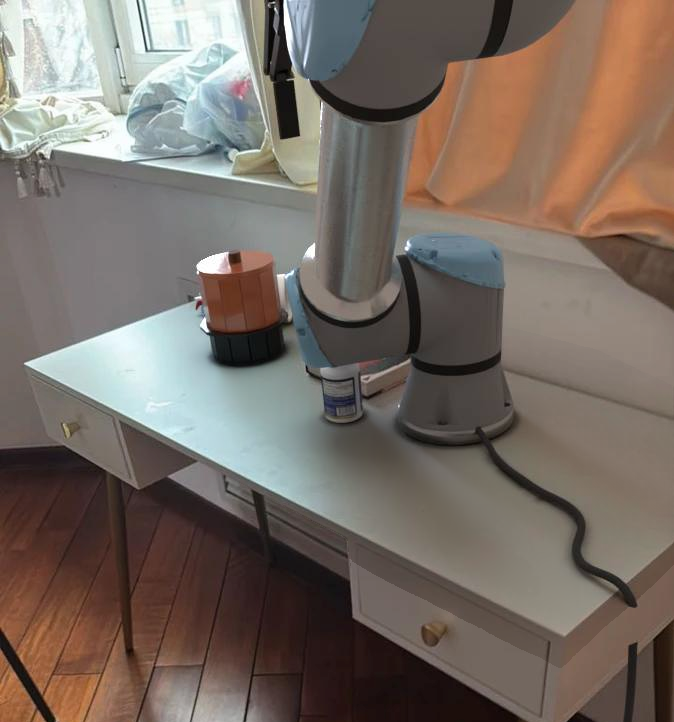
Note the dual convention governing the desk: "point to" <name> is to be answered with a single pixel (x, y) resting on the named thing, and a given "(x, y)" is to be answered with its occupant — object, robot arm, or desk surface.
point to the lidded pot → (239, 291)
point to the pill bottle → (342, 393)
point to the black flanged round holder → (247, 344)
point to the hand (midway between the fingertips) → (311, 142)
